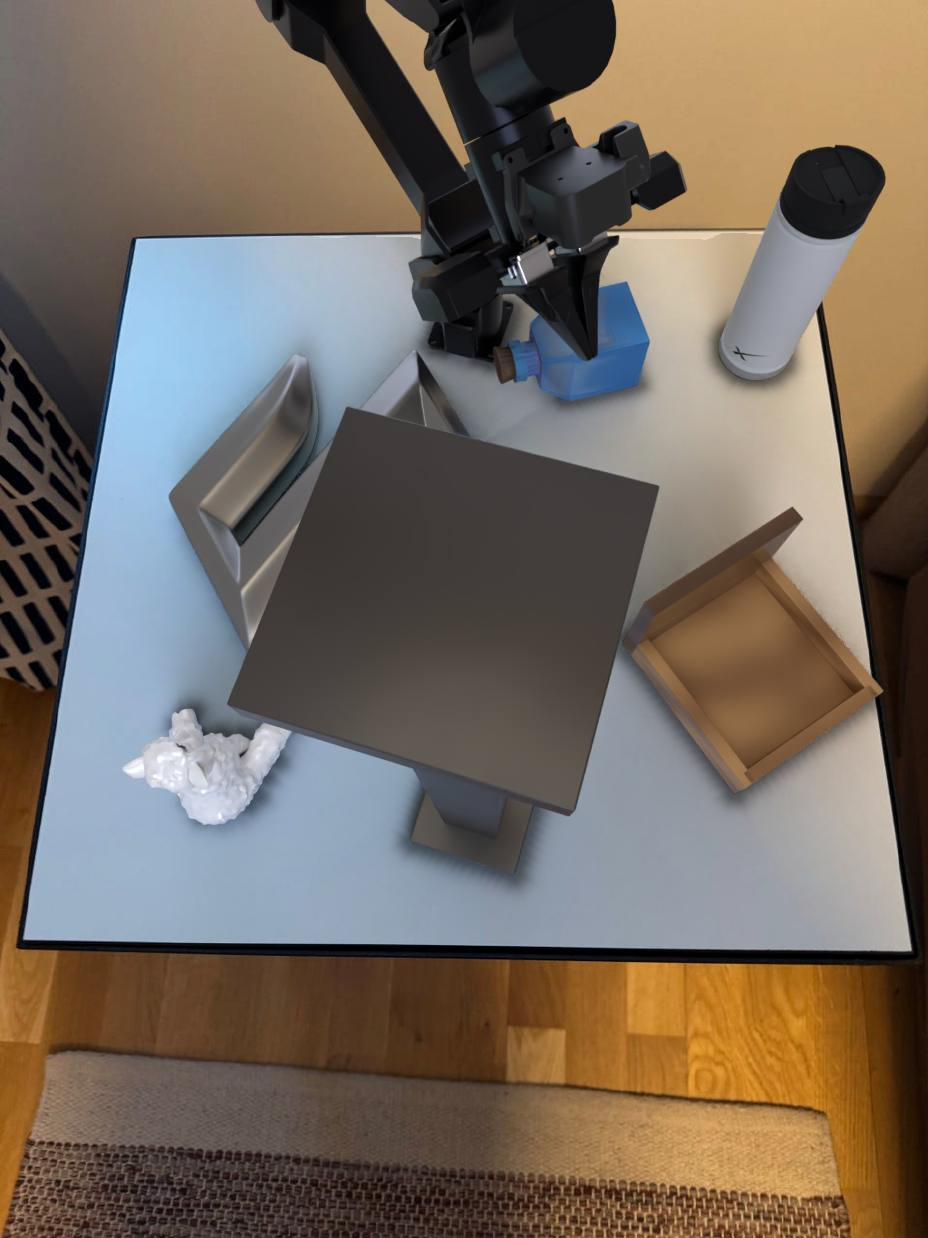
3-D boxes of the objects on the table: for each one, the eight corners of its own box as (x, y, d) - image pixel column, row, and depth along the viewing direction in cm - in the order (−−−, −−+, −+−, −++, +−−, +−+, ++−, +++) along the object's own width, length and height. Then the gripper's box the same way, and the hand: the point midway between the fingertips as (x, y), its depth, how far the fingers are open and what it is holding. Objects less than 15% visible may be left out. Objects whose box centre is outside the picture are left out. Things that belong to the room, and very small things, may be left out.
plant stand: (443, 740, 65) (346, 404, 21) (543, 770, 64) (660, 485, 20) (410, 842, 62) (225, 704, 19) (514, 875, 61) (575, 811, 18)
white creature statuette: (298, 719, 65) (257, 681, 54) (282, 832, 63) (236, 817, 51) (179, 711, 66) (114, 672, 54) (158, 823, 63) (85, 806, 52)
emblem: (187, 328, 71) (516, 340, 70) (208, 366, 76) (514, 378, 75) (124, 644, 62) (499, 664, 61) (151, 663, 67) (498, 682, 66)
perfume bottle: (616, 328, 76) (488, 358, 75) (626, 281, 70) (488, 312, 70) (637, 385, 74) (506, 415, 74) (650, 340, 68) (507, 373, 68)
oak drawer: (622, 644, 67) (644, 601, 57) (750, 560, 69) (792, 505, 59) (733, 793, 63) (777, 774, 53) (867, 700, 65) (931, 665, 55)
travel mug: (730, 390, 74) (814, 214, 55) (709, 329, 76) (782, 139, 57) (799, 377, 74) (906, 197, 55) (775, 316, 76) (870, 123, 57)
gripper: (420, 174, 43) (530, 439, 51) (705, 24, 46) (771, 297, 54) (364, 196, 53) (463, 417, 60) (603, 72, 56) (670, 297, 63)
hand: (590, 358), depth 59 cm, fingers closed
